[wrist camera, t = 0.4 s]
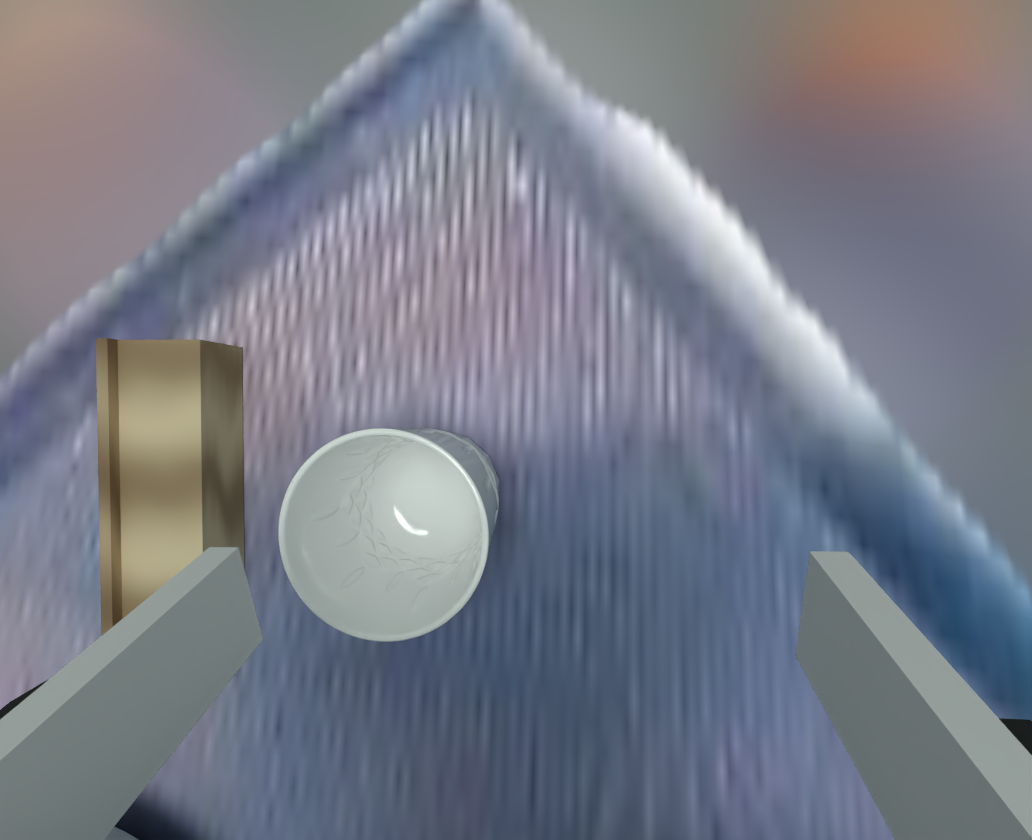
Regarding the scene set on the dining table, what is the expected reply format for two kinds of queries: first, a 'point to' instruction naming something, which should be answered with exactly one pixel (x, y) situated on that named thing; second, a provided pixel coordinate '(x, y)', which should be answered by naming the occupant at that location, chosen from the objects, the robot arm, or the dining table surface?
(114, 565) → the brass metal channel
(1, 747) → the robot arm
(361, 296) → the dining table surface
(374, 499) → the white cup
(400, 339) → the dining table surface
